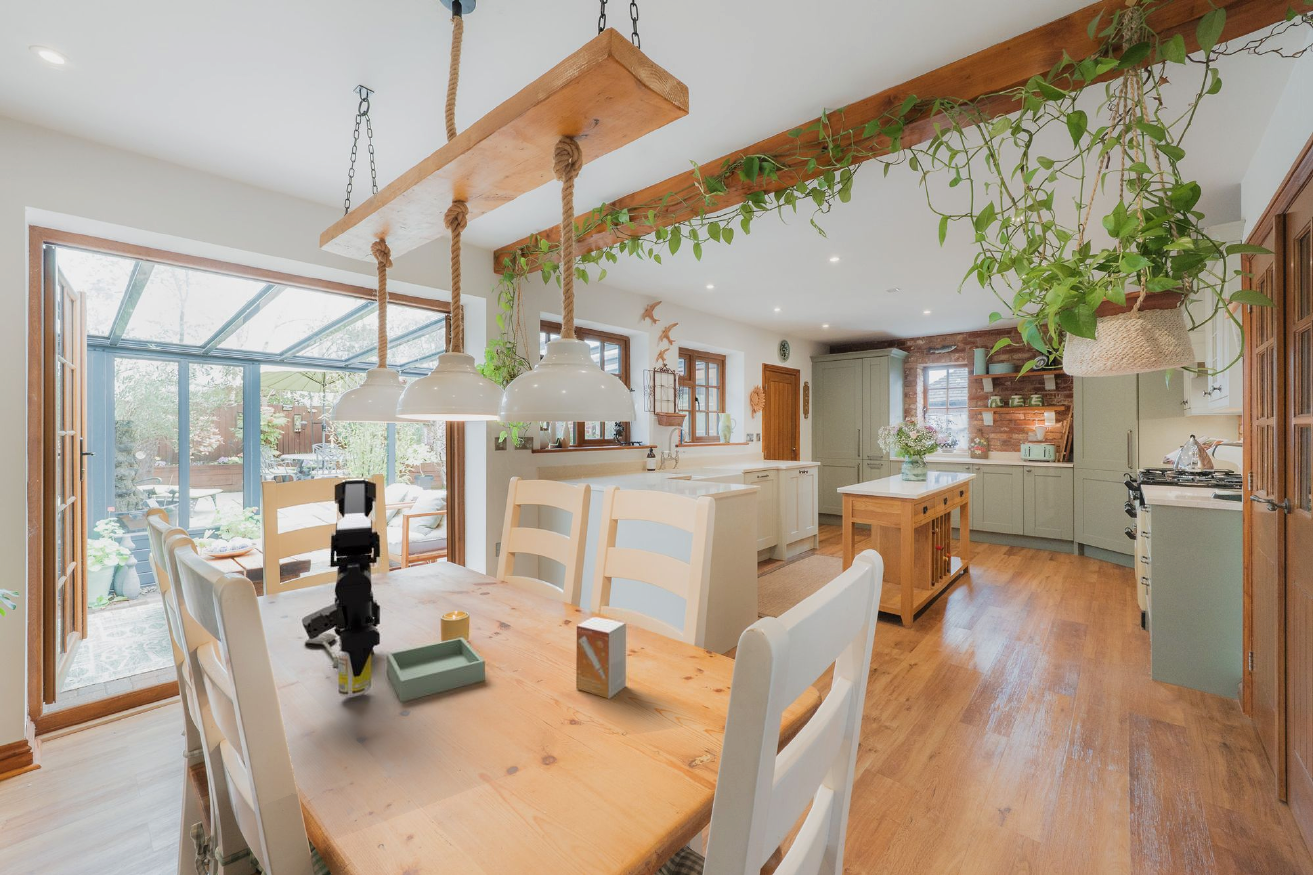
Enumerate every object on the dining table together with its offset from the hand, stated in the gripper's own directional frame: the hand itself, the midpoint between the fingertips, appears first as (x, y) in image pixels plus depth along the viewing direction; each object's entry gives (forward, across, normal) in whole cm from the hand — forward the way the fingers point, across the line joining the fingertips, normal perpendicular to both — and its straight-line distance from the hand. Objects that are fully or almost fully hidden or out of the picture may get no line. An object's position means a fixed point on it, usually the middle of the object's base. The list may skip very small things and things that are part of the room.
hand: (355, 670), depth 106 cm
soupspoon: (+6, -29, -3) cm, 30 cm away
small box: (+6, +24, +41) cm, 48 cm away
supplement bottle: (+4, 0, 0) cm, 4 cm away
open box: (+5, -1, +15) cm, 16 cm away
